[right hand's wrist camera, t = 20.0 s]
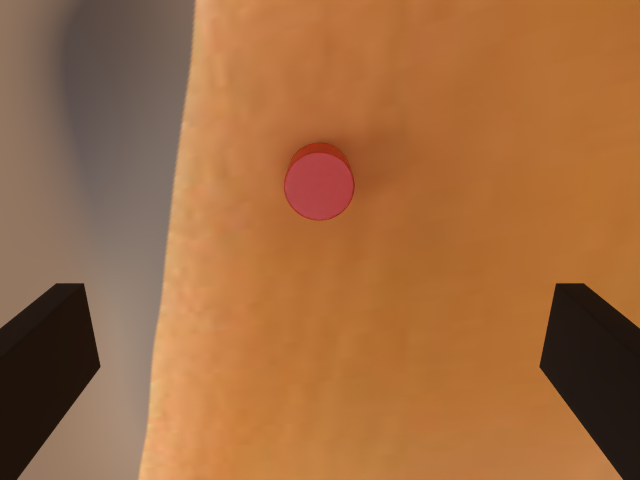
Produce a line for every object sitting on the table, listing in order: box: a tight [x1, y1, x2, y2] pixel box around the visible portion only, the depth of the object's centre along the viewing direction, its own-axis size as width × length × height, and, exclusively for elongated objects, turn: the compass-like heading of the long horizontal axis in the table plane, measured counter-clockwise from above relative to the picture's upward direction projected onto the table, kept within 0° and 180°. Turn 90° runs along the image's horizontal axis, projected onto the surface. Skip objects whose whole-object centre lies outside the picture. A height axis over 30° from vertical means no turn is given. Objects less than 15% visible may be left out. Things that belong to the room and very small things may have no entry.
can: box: [284, 143, 354, 220], centre depth 32 cm, size 5×5×4 cm
